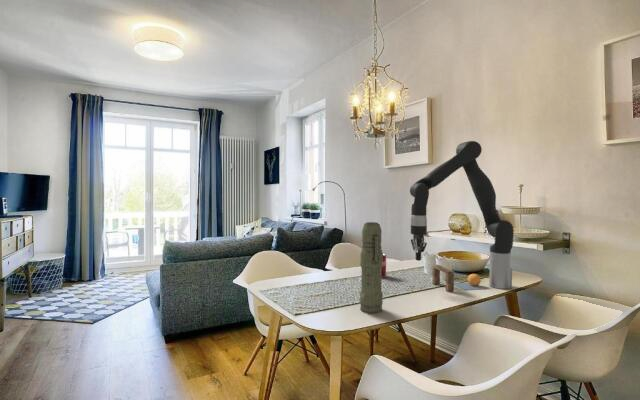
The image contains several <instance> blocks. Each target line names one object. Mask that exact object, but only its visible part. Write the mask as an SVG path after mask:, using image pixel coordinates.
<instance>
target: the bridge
mask: <svg viewBox="0 0 640 400" xmlns="http://www.w3.org/2000/svg"><path fill="white" fill-rule="evenodd" d="M441 272H442V273H444V274H445V292H447V293H453V292H455V285H454V283H455V271H454V270H451V269H450V268H447V267H445V266H442V265H440V264H432V278H431V279H432V283H431V284H432V285H434V286H435V285H439V284H440V285H441V283H440V282H441Z"/></svg>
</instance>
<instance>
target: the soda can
mask: <svg viewBox="0 0 640 400" xmlns="http://www.w3.org/2000/svg"><path fill="white" fill-rule="evenodd" d="M386 276H387V255H386V254H385V253H383V267H382V269H381V279H382V278H386Z"/></svg>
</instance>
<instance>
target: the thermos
mask: <svg viewBox="0 0 640 400" xmlns="http://www.w3.org/2000/svg"><path fill="white" fill-rule="evenodd" d="M361 242H362V245H361V250H360V261H359V262H360V263H359V264H360V265H359V266H360V268H361V281H360V283H361V287H360V288H361V290H360V292H359V304H360V311H361V313H365V314H373V315H374V314H380V313H381V312H383V302H384V300H383V291H382V278H381V269H382V267H383V254H384V252H383V250H382V228H381V225H380V223H379V222H375V221H374V222H373V221H369V222H368V221H367V222H365V223H363V226H362V230H361Z"/></svg>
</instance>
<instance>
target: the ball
mask: <svg viewBox="0 0 640 400" xmlns="http://www.w3.org/2000/svg"><path fill="white" fill-rule="evenodd" d="M481 280H482V279H481V277H480V276H479V275H478V274H477V273H472V274H469V276H468V277H467V283H469V284H470V285H472V286H478V285H480V284H481V282H482V281H481Z"/></svg>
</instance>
